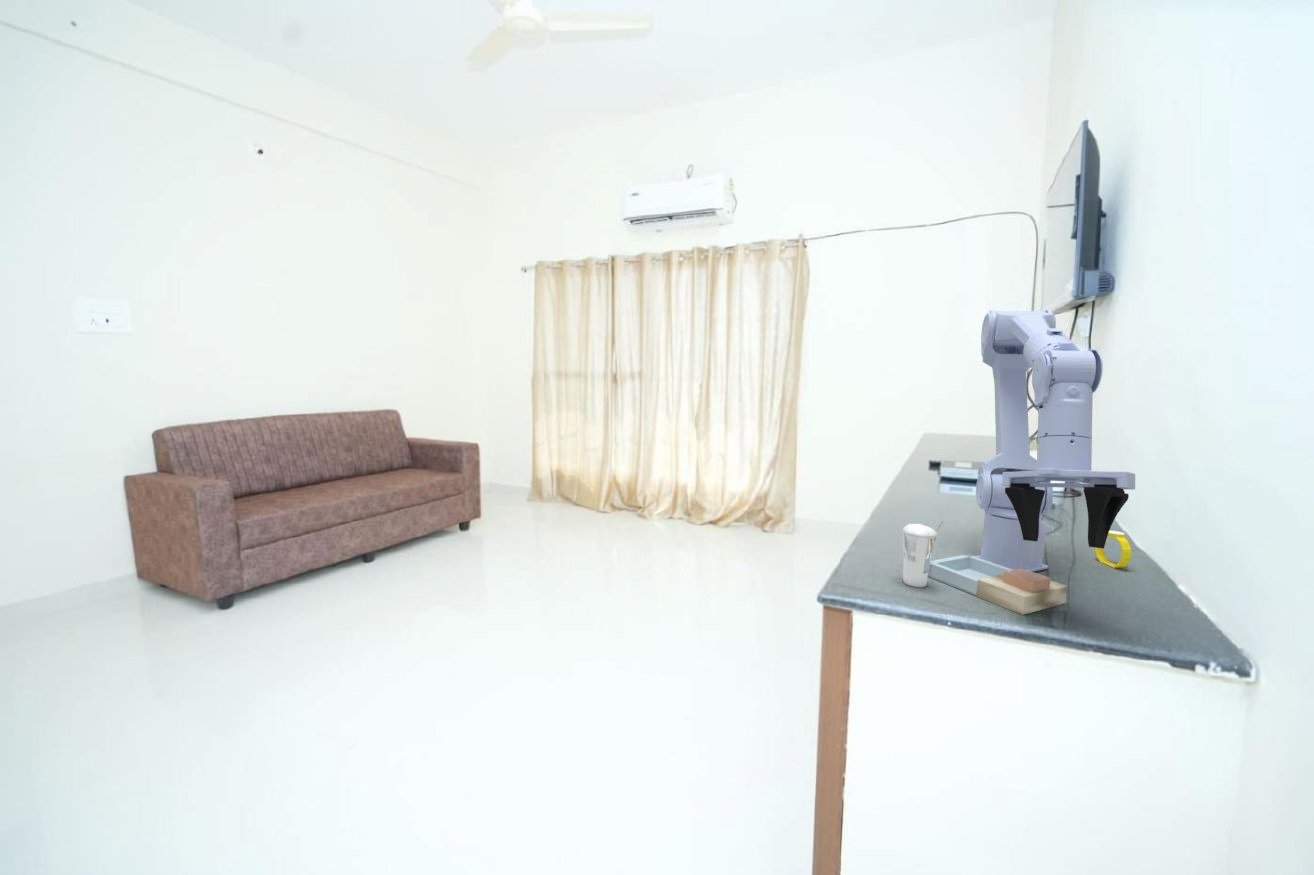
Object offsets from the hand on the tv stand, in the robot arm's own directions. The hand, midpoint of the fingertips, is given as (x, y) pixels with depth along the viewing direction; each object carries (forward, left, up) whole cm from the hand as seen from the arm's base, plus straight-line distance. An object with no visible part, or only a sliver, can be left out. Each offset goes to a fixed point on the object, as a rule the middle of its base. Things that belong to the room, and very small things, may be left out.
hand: (1061, 544), depth 70 cm
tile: (-3, -5, -8) cm, 10 cm away
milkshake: (+6, -16, -11) cm, 20 cm away
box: (-3, -13, -10) cm, 17 cm away
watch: (-34, -9, -11) cm, 37 cm away
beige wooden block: (-3, -6, -10) cm, 12 cm away
